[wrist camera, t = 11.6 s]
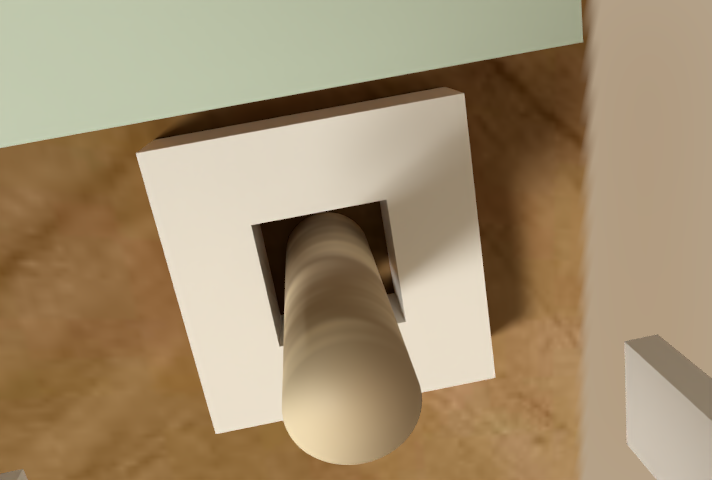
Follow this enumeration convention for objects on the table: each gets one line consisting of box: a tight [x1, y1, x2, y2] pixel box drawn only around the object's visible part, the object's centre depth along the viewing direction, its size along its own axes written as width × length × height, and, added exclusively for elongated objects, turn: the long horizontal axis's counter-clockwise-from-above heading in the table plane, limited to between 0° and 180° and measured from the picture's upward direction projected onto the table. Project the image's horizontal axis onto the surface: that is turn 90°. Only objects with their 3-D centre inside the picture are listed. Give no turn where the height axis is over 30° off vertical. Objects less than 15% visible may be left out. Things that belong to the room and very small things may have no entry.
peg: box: [282, 212, 422, 465], centre depth 22 cm, size 4×4×12 cm
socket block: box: [136, 87, 495, 434], centre depth 26 cm, size 12×12×3 cm
